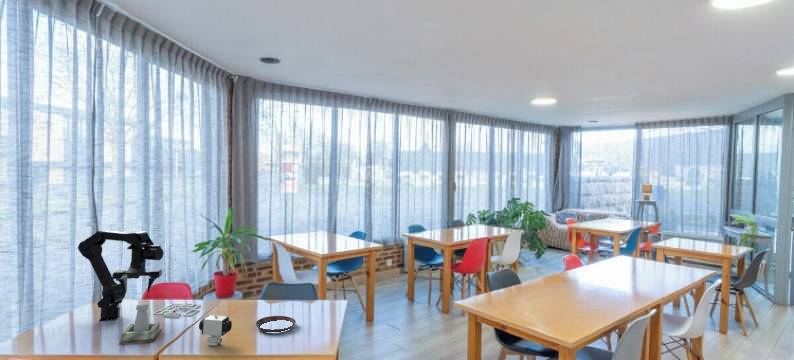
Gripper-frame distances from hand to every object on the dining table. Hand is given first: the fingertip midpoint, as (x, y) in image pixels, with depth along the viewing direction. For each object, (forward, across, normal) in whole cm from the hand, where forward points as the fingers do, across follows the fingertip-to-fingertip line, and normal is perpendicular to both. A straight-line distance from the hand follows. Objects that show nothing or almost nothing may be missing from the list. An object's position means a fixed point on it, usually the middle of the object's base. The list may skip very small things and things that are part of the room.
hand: (137, 292), depth 188 cm
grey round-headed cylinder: (+12, +8, -22) cm, 26 cm away
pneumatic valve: (+13, +38, -35) cm, 53 cm away
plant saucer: (+14, +62, -21) cm, 67 cm away
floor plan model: (+14, +19, +10) cm, 25 cm away
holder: (+13, +8, -22) cm, 27 cm away
